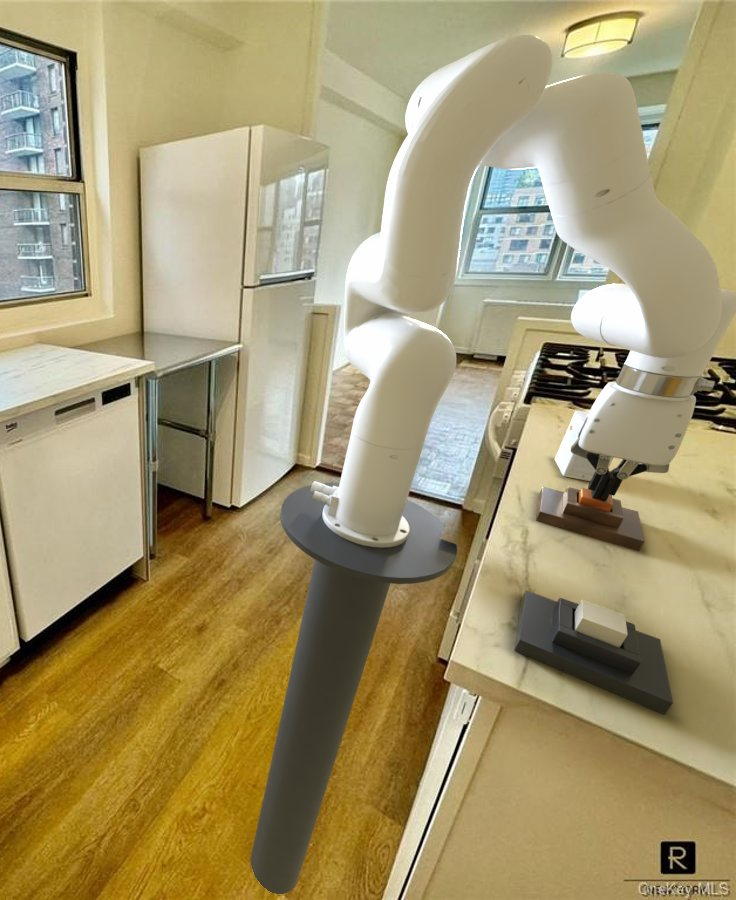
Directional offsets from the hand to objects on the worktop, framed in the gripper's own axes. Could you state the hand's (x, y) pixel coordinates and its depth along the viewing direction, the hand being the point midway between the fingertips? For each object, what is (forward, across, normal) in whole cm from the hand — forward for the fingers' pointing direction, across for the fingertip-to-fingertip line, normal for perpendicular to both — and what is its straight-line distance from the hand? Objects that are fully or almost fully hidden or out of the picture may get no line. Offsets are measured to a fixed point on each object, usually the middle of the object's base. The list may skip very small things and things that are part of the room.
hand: (598, 495), depth 74 cm
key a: (+1, +1, +33) cm, 33 cm away
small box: (+5, +1, -20) cm, 20 cm away
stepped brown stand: (+5, 0, 0) cm, 5 cm away
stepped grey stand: (+4, +1, +33) cm, 33 cm away
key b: (+2, 0, 0) cm, 2 cm away
